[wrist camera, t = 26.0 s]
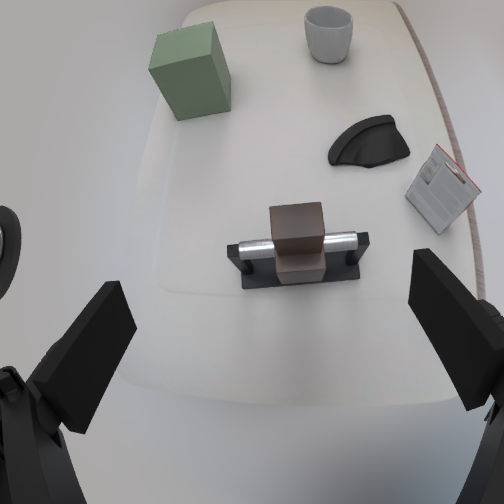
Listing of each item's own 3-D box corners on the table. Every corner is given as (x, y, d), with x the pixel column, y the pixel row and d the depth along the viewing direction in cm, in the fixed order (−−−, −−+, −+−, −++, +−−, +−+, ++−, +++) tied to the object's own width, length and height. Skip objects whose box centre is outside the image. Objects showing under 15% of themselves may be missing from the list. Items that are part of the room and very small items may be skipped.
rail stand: (243, 289, 44) (223, 272, 34) (241, 254, 46) (222, 227, 35) (359, 278, 42) (376, 258, 32) (354, 243, 43) (368, 214, 33)
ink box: (417, 184, 44) (450, 129, 30) (451, 222, 42) (496, 178, 28) (403, 196, 44) (433, 143, 30) (437, 236, 42) (482, 195, 28)
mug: (353, 68, 52) (357, 29, 43) (307, 67, 54) (305, 28, 44) (344, 33, 56) (346, -2, 46) (304, 33, 57) (301, -3, 48)
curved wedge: (316, 136, 49) (316, 130, 48) (388, 118, 48) (390, 112, 47) (336, 177, 47) (337, 172, 45) (411, 157, 46) (413, 152, 44)
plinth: (177, 120, 55) (147, 69, 41) (181, 84, 57) (157, 35, 44) (230, 111, 53) (210, 54, 40) (230, 75, 56) (213, 21, 43)
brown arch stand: (281, 284, 40) (269, 261, 26) (277, 234, 41) (264, 188, 28) (321, 281, 39) (331, 255, 25) (316, 231, 41) (321, 183, 27)
